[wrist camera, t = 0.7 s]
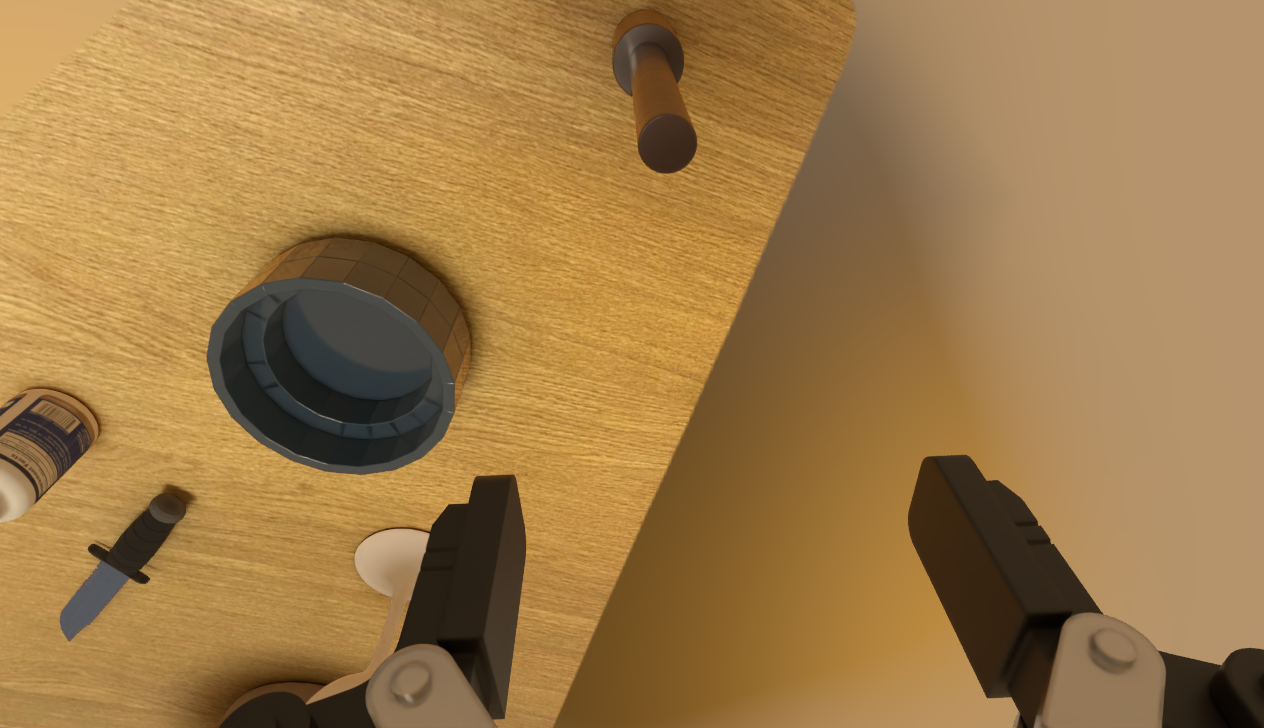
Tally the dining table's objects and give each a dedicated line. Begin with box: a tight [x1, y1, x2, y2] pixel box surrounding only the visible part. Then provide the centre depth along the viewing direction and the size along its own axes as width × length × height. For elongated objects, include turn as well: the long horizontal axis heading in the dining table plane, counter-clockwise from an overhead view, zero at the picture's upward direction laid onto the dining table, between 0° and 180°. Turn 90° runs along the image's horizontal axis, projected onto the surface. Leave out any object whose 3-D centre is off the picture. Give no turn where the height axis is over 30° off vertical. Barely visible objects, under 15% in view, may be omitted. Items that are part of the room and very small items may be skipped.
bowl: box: [206, 238, 471, 475], centre depth 41 cm, size 13×13×6 cm
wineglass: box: [306, 529, 430, 705], centre depth 47 cm, size 9×9×21 cm
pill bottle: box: [0, 389, 99, 523], centre depth 42 cm, size 5×5×10 cm
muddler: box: [612, 10, 697, 174], centre depth 27 cm, size 3×3×18 cm
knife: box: [60, 494, 186, 641], centre depth 54 cm, size 24×2×5 cm
